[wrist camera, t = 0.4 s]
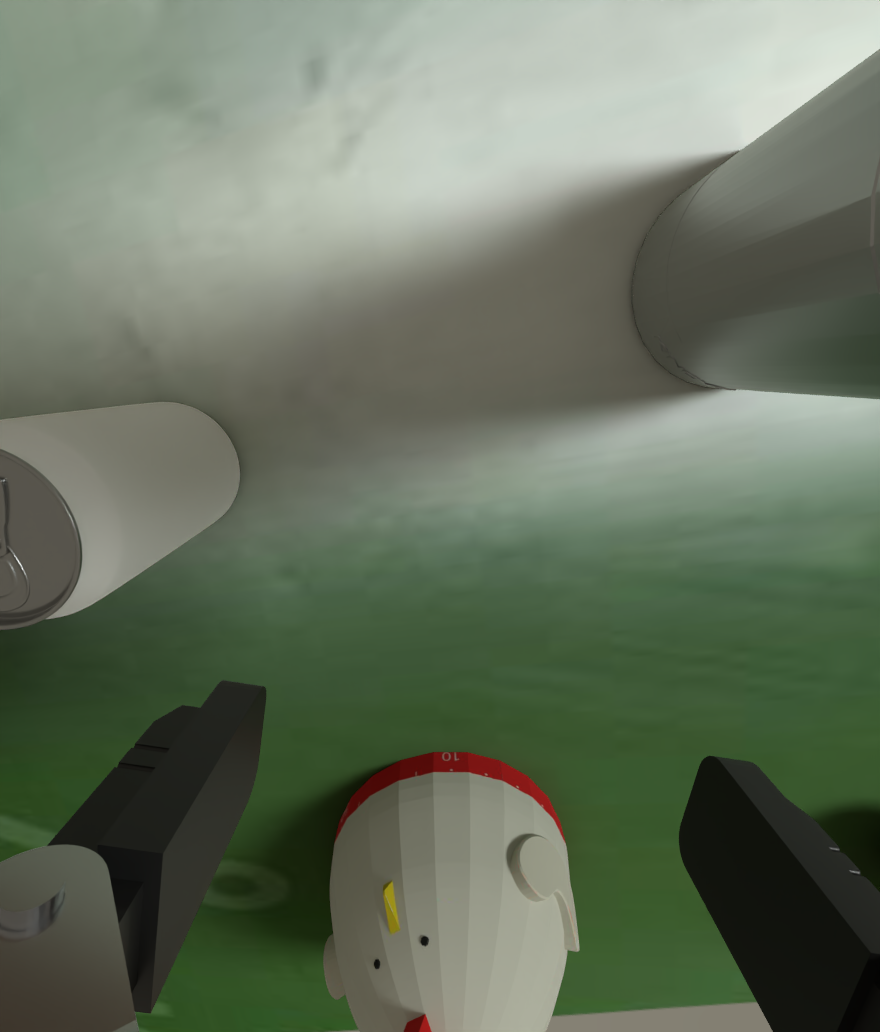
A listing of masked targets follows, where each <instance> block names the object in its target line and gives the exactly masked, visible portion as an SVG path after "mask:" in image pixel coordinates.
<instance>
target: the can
mask: <svg viewBox="0 0 880 1032" xmlns="http://www.w3.org/2000/svg"><path fill="white" fill-rule="evenodd" d="M239 483H240V466H239V460H238V456H237V453H236V451H235V448H234V446H233V444H232V442H231V440H230V438H229V437H228V435H227V434H226V433H225V431H224V430H223V429H222V428H221V427H220V426H219V425H218V424H217V423H216V422H215V421H214V420H213V419H212V418H210V417H209V416H208V415H206V414H205V413H203V412H201V411H200V410H198V409H195V408H193V407H191V406H188V405H184V404H180V403H174V402H153V403H142V404H132V405H123V406H114V407H105V408H96V409H87V410H78V411H69V412H60V413H52V414H43V415H34V416H26V417H18V418H10V419H2V420H0V630H9V629H17V628H23V627H27V626H30V625H33V624H36V623H38V622H40V621H42V620H44V619H51V618H57V617H62V616H66V615H70V614H73V613H75V612H78V611H80V610H82V609H84V608H86V607H88V606H90V605H92V604H94V603H95V602H97V601H99V600H100V599H102V598H103V597H105V596H107V595H108V594H110V593H111V592H113V591H114V590H116V589H117V588H119V587H120V586H122V585H123V584H125V583H126V582H128V581H129V580H131V579H132V578H134V577H135V576H137V575H138V574H140V573H141V572H143V571H144V570H146V569H147V568H149V567H150V566H152V565H153V564H155V563H156V562H158V561H159V560H161V559H162V558H163V557H165V556H166V555H168V554H169V553H171V552H172V551H174V550H175V549H177V548H178V547H180V546H181V545H183V544H184V543H186V542H187V541H189V540H190V539H191V538H193V537H194V536H196V535H197V534H199V533H200V532H202V531H203V530H205V529H206V528H207V527H209V526H210V525H212V524H213V523H214V522H216V521H217V520H218V519H220V518H221V517H222V516H223V515H224V514H225V513H226V512H227V511H228V509H229V508H230V507H231V505H232V503H233V502H234V500H235V497H236V495H237V492H238V488H239Z"/></svg>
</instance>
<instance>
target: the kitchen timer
mask: <svg viewBox="0 0 880 1032" xmlns="http://www.w3.org/2000/svg"><path fill="white" fill-rule="evenodd" d="M330 908H331V918H332V927H333V934H332V935H330V936H329V937H328V939H327V941H326V944H325V948H324V973H325V979H326V984H327V987H328V990H329V993H330V994H331V996H332V997H333V998H335V999H336V1000H338V999H340V998H341V997H342V996H344V995H345V994H346V998H347V1001H348V1004H349V1007H350V1010H351V1012H352V1015H353V1018H354V1020H355V1022H356V1025H357V1027H358V1029H359V1031H360V1032H546V1029H547V1027H548V1024H549V1022H550V1019H551V1016H552V1013H553V1010H554V1007H555V1003H556V999H557V996H558V992H559V989H560V985H561V982H562V978H563V974H564V969H565V964H566V958H567V950H570V951H576V952H578V951H579V939H578V930H577V922H576V914H575V906H574V900H573V894H572V889H571V885H570V876H569V866H568V855H567V848H566V843H565V839H564V835H563V832H562V828H561V824H560V821H559V819H558V817H557V815H556V813H555V811H554V809H553V807H552V804H551V802H550V800H549V798H548V797H547V796H546V795H545V794H544V793H543V792H542V791H541V790H540V788H539V787H538V786H537V785H536V784H535V783H534V782H533V781H532V780H531V779H530V778H529V777H528V776H526V775H525V774H523V773H521V772H519V771H517V770H516V769H514V768H512V767H510V766H508V765H507V764H505V763H503V762H501V761H499V760H495V759H491V758H487V757H483V756H480V755H476V754H472V753H468V752H433V753H428V754H424V755H420V756H416V757H412V758H408V759H404V760H400V761H399V762H397V763H395V764H393V765H391V766H389V767H388V768H386V769H384V770H382V771H380V772H378V773H376V774H375V775H373V776H372V777H371V778H370V779H369V780H368V781H367V782H366V783H365V784H364V785H363V786H362V787H361V788H360V789H359V790H358V791H357V792H356V793H355V794H354V795H353V796H352V797H351V799H350V801H349V803H348V805H347V807H346V809H345V811H344V813H343V815H342V817H341V819H340V821H339V825H338V829H337V834H336V838H335V843H334V851H333V859H332V867H331V876H330Z"/></svg>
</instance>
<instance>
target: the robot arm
mask: <svg viewBox="0 0 880 1032" xmlns="http://www.w3.org/2000/svg"><path fill="white" fill-rule="evenodd" d="M632 305H633V310H634V316H635V321H636V325H637V328H638V330H639V333H640V335H641V338H642V340H643V342H644V344H645V346H646V347H647V349H648V350H649V351H650V353H651V354H652V356H653V357H654V358H655V360H656V361H657V362H658V363H660V364H661V365H662V366H663V367H664V368H665V369H666V370H668V371H669V372H670V373H671V374H673V375H675V376H677V377H679V378H681V379H683V380H684V381H686V382H688V383H692V384H696V385H700V386H704V387H710V388H720V389H726V390H736V389H738V390H753V391H764V392H779V393H794V394H810V395H825V396H840V397H855V398H871V399H880V49H879V50H878V51H876V52H875V53H874V54H872V55H871V56H869V57H868V58H867V59H865V60H864V61H863V62H861V63H860V64H858V65H857V66H856V67H854V68H853V69H852V70H850V71H849V72H848V73H846V74H845V75H843V76H842V77H841V78H839V79H838V80H837V81H835V82H834V83H833V84H831V85H830V86H828V87H827V88H826V89H824V90H823V91H822V92H820V93H819V94H817V95H816V96H815V97H813V98H812V99H811V100H809V101H808V102H807V103H805V104H804V105H802V106H801V107H800V108H798V109H797V110H796V111H794V112H793V113H791V114H790V115H789V116H787V117H786V118H785V119H783V120H782V121H781V122H779V123H778V124H776V125H775V126H774V127H772V128H771V129H770V130H768V131H767V132H765V133H764V134H763V135H761V136H760V137H759V138H757V139H756V140H755V141H753V142H752V143H750V144H749V145H748V146H746V147H745V148H744V149H742V150H741V151H739V152H738V153H736V154H735V155H733V156H732V157H731V158H729V159H728V160H727V161H725V162H724V163H723V164H721V165H720V166H719V167H717V168H716V169H715V170H713V171H712V172H711V173H709V174H708V175H706V176H705V177H704V178H702V179H701V180H700V181H698V182H697V183H696V184H694V185H693V186H691V187H690V188H689V189H687V190H686V191H685V192H683V193H682V194H680V195H679V196H678V197H677V198H676V199H675V200H674V201H673V202H672V203H671V204H670V205H669V206H668V207H667V208H666V209H665V210H664V211H663V212H662V213H661V214H660V216H659V218H658V219H657V221H656V222H655V224H654V225H653V227H652V228H651V230H650V231H649V233H648V234H647V236H646V239H645V241H644V243H643V246H642V248H641V250H640V253H639V255H638V258H637V262H636V267H635V271H634V276H633V286H632ZM265 703H266V688H265V687H264V686H257V685H251V684H244V683H238V682H231V681H225V680H223V681H221V682H220V683H219V684H218V685H217V686H216V688H215V689H214V690H213V692H212V693H211V694H210V696H209V697H208V698H207V700H206V701H205V702H204V704H203V705H202V706H201V708H198V707H191V706H185V705H182V706H180V707H178V708H177V709H175V710H173V711H171V712H170V713H168V714H166V715H165V716H163V717H161V718H159V719H158V720H156V721H154V722H153V723H152V725H151V726H150V727H149V728H148V729H147V730H146V732H145V733H144V734H143V735H142V736H141V737H140V739H139V740H138V741H137V742H136V743H135V746H134V748H131V749H130V750H129V751H128V752H127V754H126V755H125V756H124V757H123V758H122V759H121V761H120V762H119V765H118V767H117V768H116V767H115V768H114V769H113V770H112V771H111V772H110V773H109V774H108V776H107V777H106V778H105V779H104V780H103V781H102V783H101V784H100V785H99V786H98V787H97V788H96V790H95V791H94V792H93V793H92V794H91V795H90V796H89V798H88V799H87V800H86V801H85V802H84V803H83V805H82V806H81V807H80V808H79V809H78V810H77V812H76V813H75V814H74V815H73V816H72V817H71V819H70V820H69V821H68V822H67V823H66V824H65V825H64V827H63V828H62V829H61V830H60V831H59V832H58V834H57V835H56V836H55V837H54V838H53V839H52V841H51V842H50V843H49V844H48V845H47V846H45V847H40V848H36V849H32V850H29V851H26V852H23V853H21V854H18V855H15V856H13V857H11V858H9V859H7V860H5V861H3V862H1V863H0V1032H139V1029H138V1025H137V1020H136V1015H135V1012H143V1013H151V1011H152V1009H153V1007H154V1005H155V1003H156V1001H157V998H158V996H159V994H160V992H161V990H162V987H163V985H164V983H165V981H166V979H167V977H168V974H169V972H170V970H171V968H172V966H173V964H174V961H175V959H176V957H177V955H178V953H179V951H180V948H181V946H182V944H183V942H184V940H185V937H186V935H187V933H188V931H189V929H190V927H191V924H192V922H193V920H194V918H195V916H196V914H197V911H198V909H199V907H200V905H201V903H202V900H203V898H204V896H205V894H206V892H207V890H208V887H209V885H210V883H211V881H212V879H213V877H214V874H215V872H216V870H217V868H218V866H219V864H220V861H221V859H222V857H223V855H224V853H225V850H226V848H227V846H228V844H229V842H230V840H231V837H232V835H233V833H234V831H235V829H236V827H237V824H238V822H239V820H240V818H241V816H242V814H243V811H244V809H245V807H246V805H247V802H248V800H249V797H250V795H251V792H252V788H253V785H254V781H255V777H256V773H257V768H258V762H259V754H260V745H261V737H262V729H263V720H264V712H265ZM679 846H680V853H681V857H682V860H683V863H684V866H685V868H686V870H687V872H688V873H689V875H690V877H691V879H692V881H693V883H694V885H695V887H696V888H697V890H698V892H699V894H700V896H701V898H702V900H703V901H704V903H705V905H706V907H707V909H708V911H709V913H710V915H711V916H712V918H713V920H714V922H715V924H716V926H717V928H718V930H719V931H720V933H721V935H722V937H723V939H724V941H725V943H726V945H727V946H728V948H729V950H730V952H731V954H732V956H733V958H734V960H735V961H736V963H737V965H738V967H739V969H740V971H741V973H742V974H743V976H744V978H745V980H746V982H747V984H748V986H749V988H750V989H751V991H752V993H753V995H754V997H755V999H756V1001H757V1003H758V1004H759V1006H760V1008H761V1010H762V1012H763V1014H764V1016H765V1018H766V1019H767V1021H768V1023H769V1025H770V1027H771V1029H772V1030H773V1032H880V892H879V891H878V890H877V889H876V888H875V887H874V885H873V884H872V883H871V882H870V881H869V880H868V879H867V878H866V877H863V876H861V874H860V870H859V869H858V868H857V867H856V865H855V864H854V863H853V862H852V861H851V860H850V859H849V858H848V857H847V855H846V854H845V853H840V850H839V847H838V845H837V844H836V843H835V842H834V841H833V840H832V839H831V838H830V837H829V835H828V834H827V833H826V832H825V831H824V830H823V829H822V828H821V827H820V825H819V824H818V823H817V822H816V821H815V820H814V819H812V818H811V817H810V816H808V815H807V814H806V813H805V812H803V811H802V810H801V809H799V808H798V807H797V806H795V805H794V804H793V803H792V802H790V801H789V800H788V799H786V798H785V797H784V796H783V794H782V793H781V792H780V791H779V790H778V789H777V788H776V786H775V785H774V784H773V783H772V782H771V781H770V780H769V778H768V777H767V776H766V775H765V774H764V773H763V772H762V771H761V769H760V768H759V767H758V766H757V765H755V764H754V763H752V762H748V761H741V760H735V759H728V758H721V757H715V756H708V757H706V758H704V759H703V761H702V762H701V764H700V766H699V769H698V772H697V775H696V778H695V782H694V785H693V788H692V791H691V794H690V797H689V800H688V803H687V806H686V810H685V813H684V816H683V819H682V822H681V826H680V831H679Z"/></svg>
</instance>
